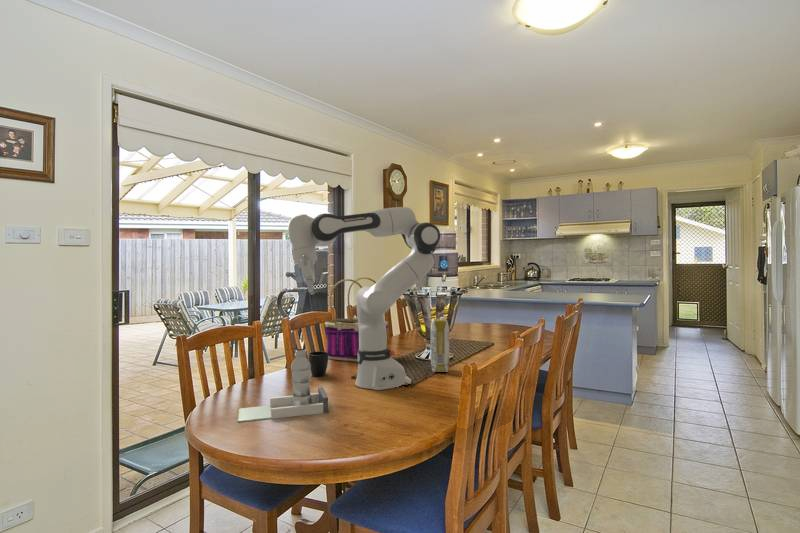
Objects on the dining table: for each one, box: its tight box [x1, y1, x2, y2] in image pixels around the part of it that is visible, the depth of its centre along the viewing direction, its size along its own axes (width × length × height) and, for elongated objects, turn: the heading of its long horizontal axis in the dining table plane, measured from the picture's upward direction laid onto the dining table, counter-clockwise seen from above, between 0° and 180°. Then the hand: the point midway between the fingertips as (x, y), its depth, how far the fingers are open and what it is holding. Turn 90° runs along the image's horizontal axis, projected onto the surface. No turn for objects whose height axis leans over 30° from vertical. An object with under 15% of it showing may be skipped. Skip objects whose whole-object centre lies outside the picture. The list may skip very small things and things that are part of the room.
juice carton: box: [430, 316, 450, 372], centre depth 202 cm, size 9×8×24 cm
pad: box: [237, 404, 272, 423], centre depth 149 cm, size 10×12×1 cm
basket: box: [324, 276, 389, 363], centre depth 229 cm, size 31×20×40 cm, turn 69°
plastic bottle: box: [290, 348, 313, 406], centre depth 153 cm, size 6×7×20 cm
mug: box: [308, 350, 329, 378], centre depth 198 cm, size 8×12×10 cm
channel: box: [269, 386, 329, 420], centre depth 153 cm, size 18×12×5 cm
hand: (311, 293), depth 171 cm, fingers open, 8 cm apart
